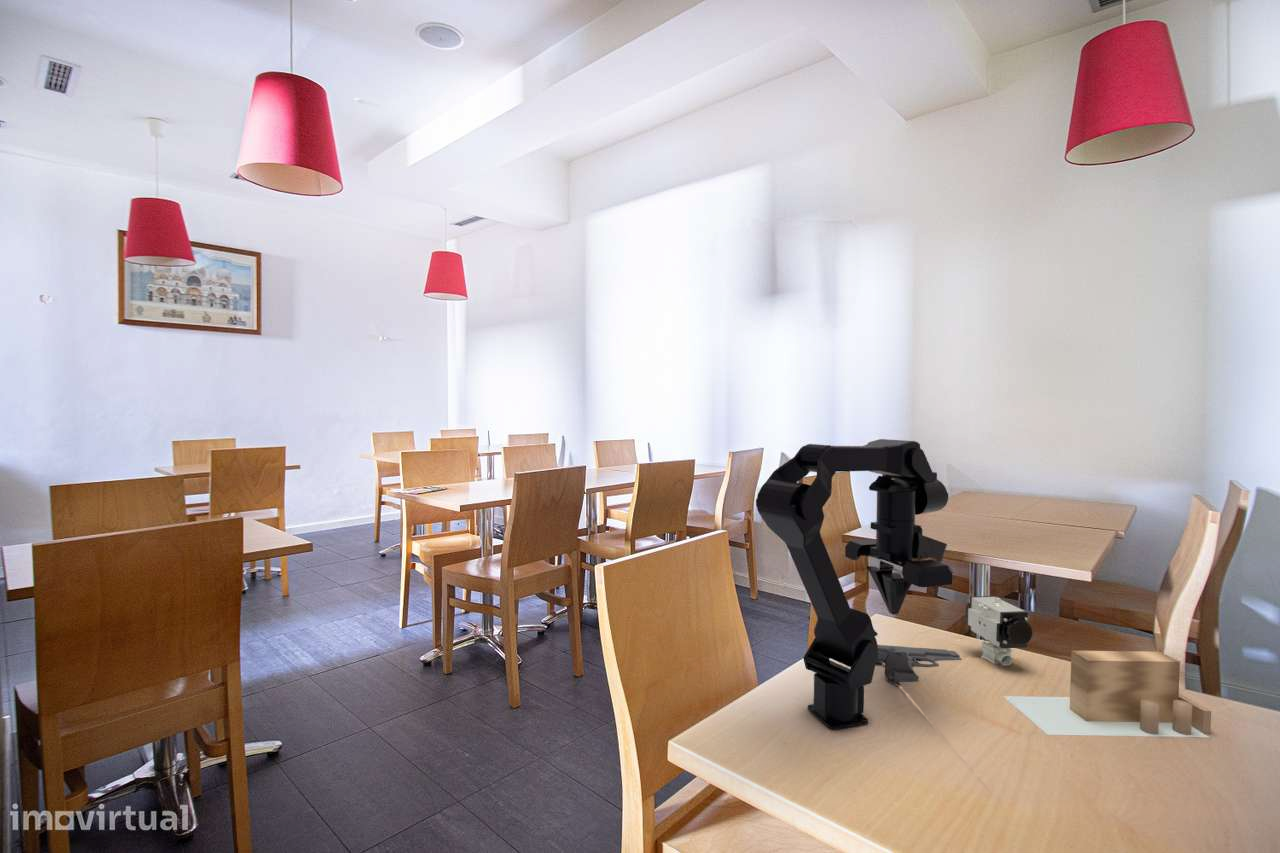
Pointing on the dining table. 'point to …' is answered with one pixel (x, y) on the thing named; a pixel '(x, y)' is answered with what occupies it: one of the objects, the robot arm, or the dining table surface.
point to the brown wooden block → (1122, 684)
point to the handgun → (909, 660)
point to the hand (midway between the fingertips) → (893, 613)
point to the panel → (1063, 721)
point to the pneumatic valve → (998, 627)
